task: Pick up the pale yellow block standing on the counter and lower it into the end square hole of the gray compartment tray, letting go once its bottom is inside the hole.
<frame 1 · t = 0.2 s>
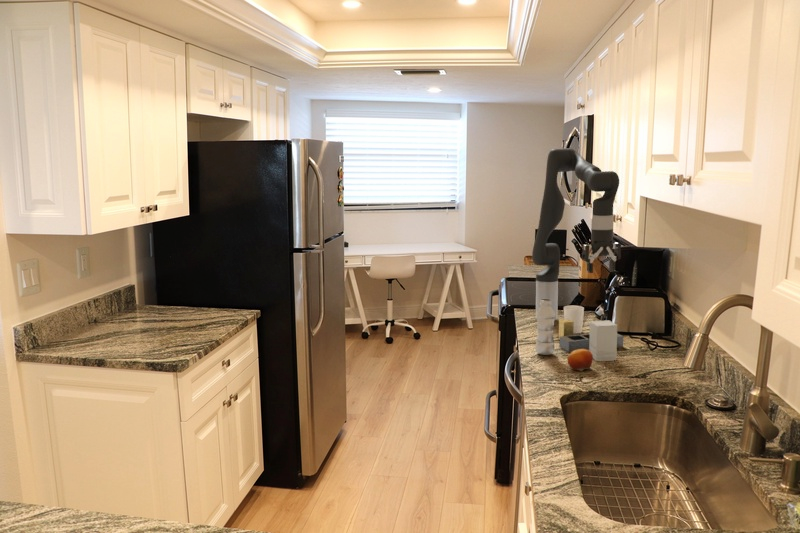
hand: (601, 272, 232), 28 cm above the worktop, tool pointing down, fingers open, 8 cm apart
white cup: (573, 332, 258), on the worktop
fruit: (580, 369, 213), on the worktop
plastic bottle: (545, 354, 229), on the worktop
gray compartment tray: (591, 346, 237), on the worktop
supplement box: (602, 358, 223), on the worktop
pale yellow block: (565, 340, 245), on the worktop
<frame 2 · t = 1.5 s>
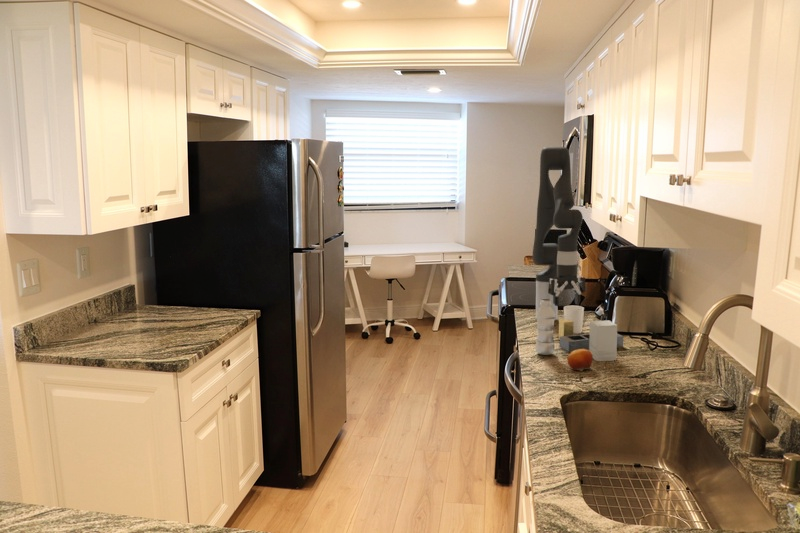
hand: (566, 304, 243), 14 cm above the worktop, tool pointing down, fingers open, 8 cm apart
nothing on the worktop moved.
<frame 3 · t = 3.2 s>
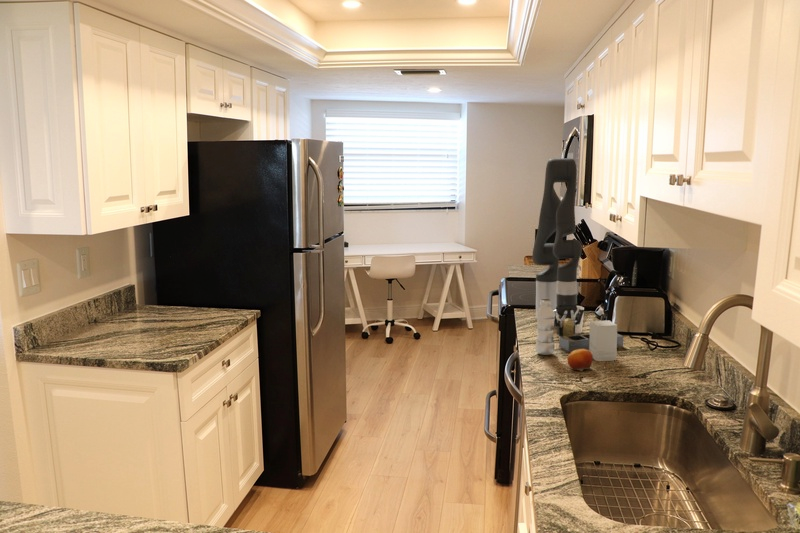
hand: (566, 335, 245), 2 cm above the worktop, tool pointing down, fingers closed on pale yellow block, 4 cm apart
pale yellow block: (566, 340, 245), on the worktop, touching gripper
everything else where it was.
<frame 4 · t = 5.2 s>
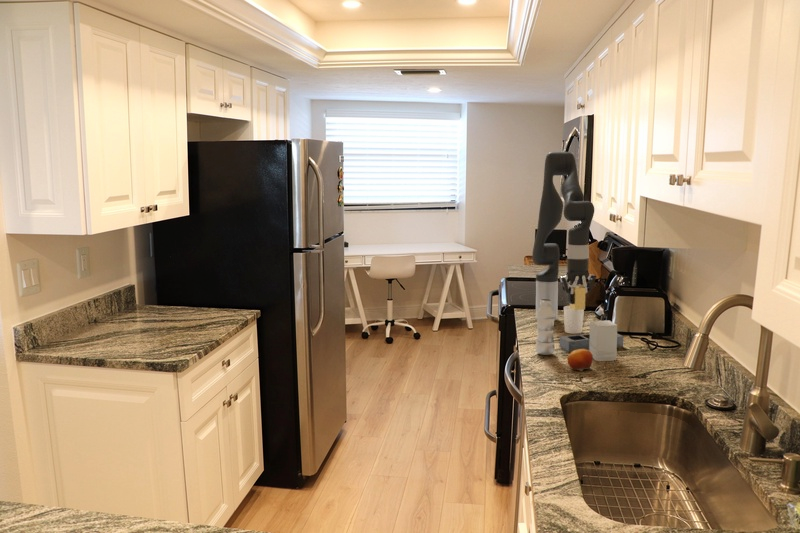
hand: (577, 303, 232), 17 cm above the worktop, tool pointing down, fingers closed on pale yellow block, 4 cm apart
pale yellow block: (577, 308, 233), point 15 cm above the worktop, touching gripper
everything else where it was.
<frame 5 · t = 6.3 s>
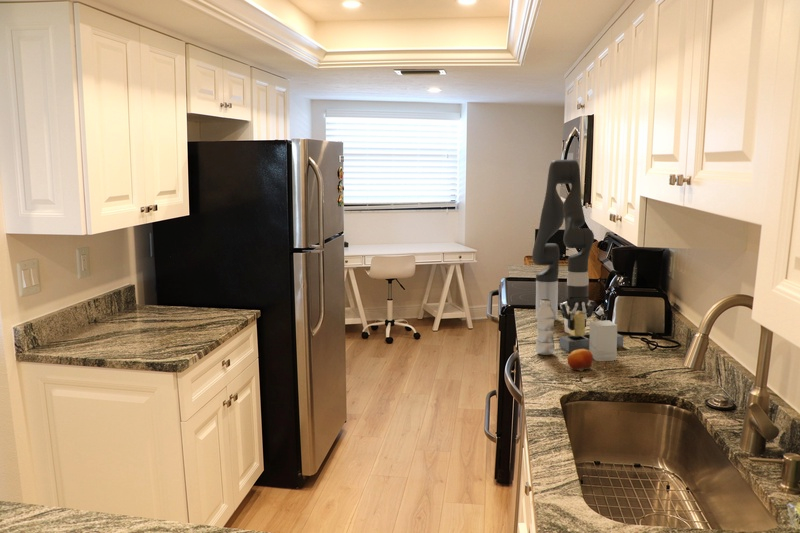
hand: (576, 328, 234), 7 cm above the worktop, tool pointing down, fingers closed on pale yellow block, 4 cm apart
pale yellow block: (576, 334, 234), point 5 cm above the worktop, touching gripper
everything else where it was.
when the fingers open (5 cm above the worktop, at t = 7.2 s): pale yellow block drops 2 cm, resting on gray compartment tray.
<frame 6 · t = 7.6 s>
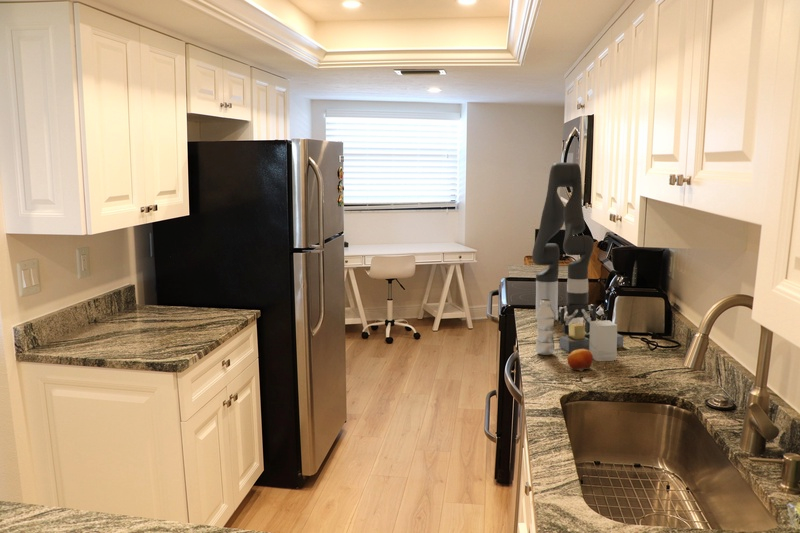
hand: (576, 333, 234), 6 cm above the worktop, tool pointing down, fingers open, 8 cm apart
pale yellow block: (576, 345, 235), point 1 cm above the worktop, touching gray compartment tray
everything else where it was.
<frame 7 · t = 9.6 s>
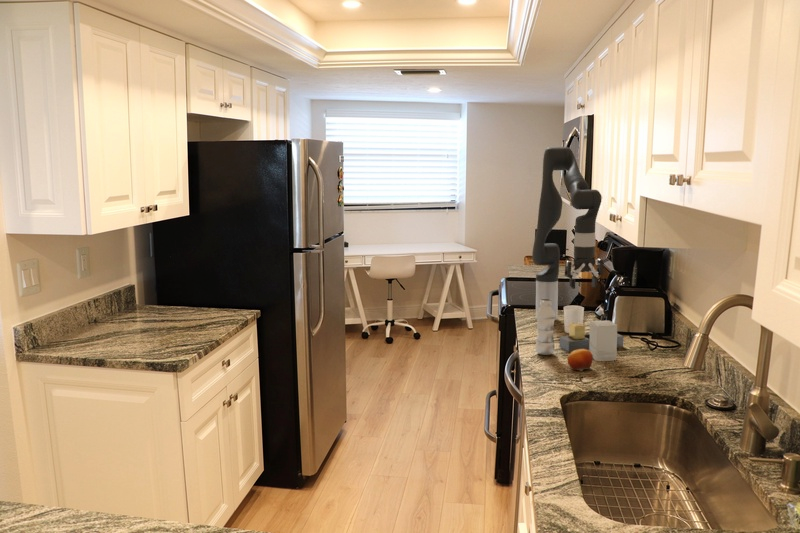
hand: (583, 287, 237), 22 cm above the worktop, tool pointing down, fingers open, 8 cm apart
nothing on the worktop moved.
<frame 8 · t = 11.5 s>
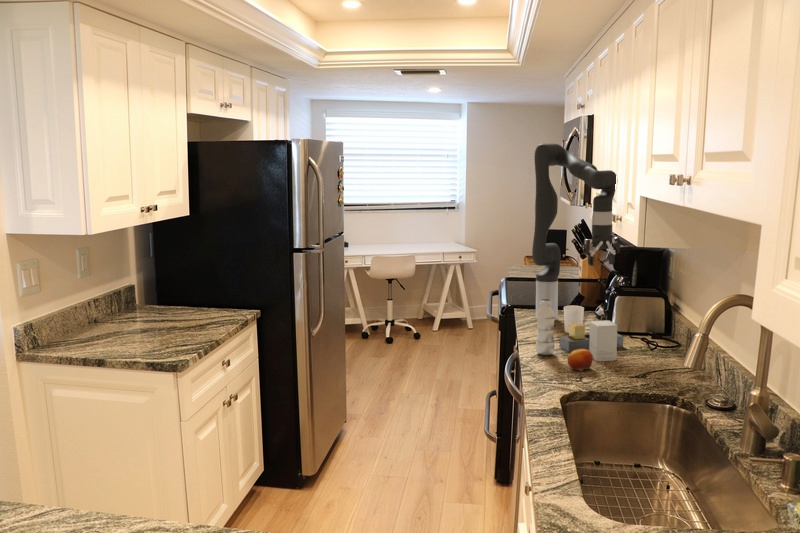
hand: (601, 264, 247), 28 cm above the worktop, tool pointing down, fingers open, 8 cm apart
nothing on the worktop moved.
at the end: pale yellow block 0.1 cm from the target spot on the gray compartment tray, point 1.0 cm above the gray compartment tray's base; pale yellow block tilted 0°; the gripper is holding nothing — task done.
